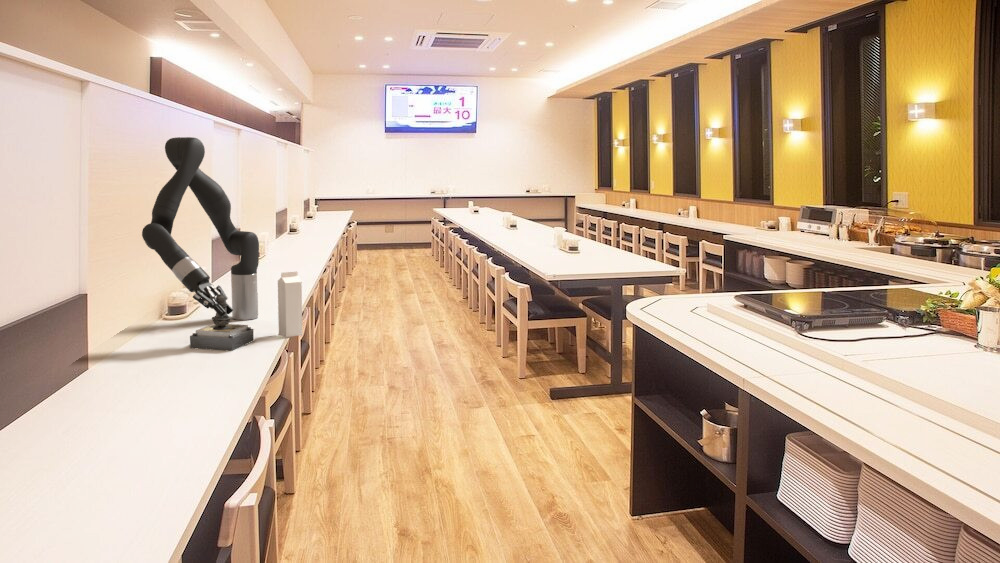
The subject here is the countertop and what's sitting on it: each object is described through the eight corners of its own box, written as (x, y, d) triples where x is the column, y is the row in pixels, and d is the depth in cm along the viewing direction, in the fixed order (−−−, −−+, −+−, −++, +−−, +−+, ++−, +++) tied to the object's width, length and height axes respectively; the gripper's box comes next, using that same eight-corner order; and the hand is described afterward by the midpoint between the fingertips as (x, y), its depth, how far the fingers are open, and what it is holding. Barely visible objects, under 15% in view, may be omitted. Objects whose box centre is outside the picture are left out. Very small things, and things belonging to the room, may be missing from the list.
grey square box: (214, 338, 229) (213, 322, 229) (253, 340, 228) (253, 324, 227) (190, 348, 216) (189, 331, 215) (232, 350, 214) (231, 333, 213)
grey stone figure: (215, 326, 224) (214, 290, 222) (233, 326, 224) (233, 290, 222) (209, 330, 218) (208, 293, 216) (228, 330, 218) (227, 293, 217)
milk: (302, 335, 238) (302, 272, 234) (286, 337, 233) (285, 273, 230) (294, 332, 242) (293, 270, 239) (278, 334, 238) (277, 271, 235)
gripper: (185, 269, 212) (223, 310, 212) (210, 263, 226) (245, 302, 226) (170, 285, 213) (208, 325, 214) (195, 278, 227) (231, 316, 228)
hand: (227, 313), depth 220 cm, fingers closed on grey stone figure, 3 cm apart
